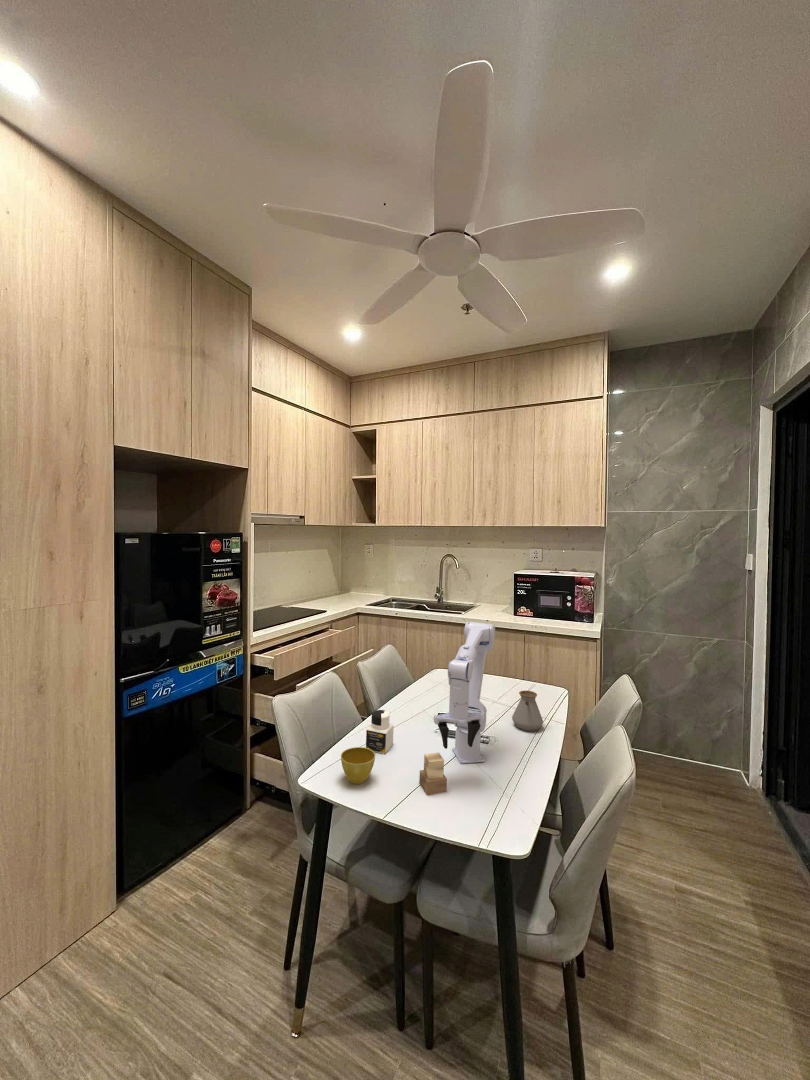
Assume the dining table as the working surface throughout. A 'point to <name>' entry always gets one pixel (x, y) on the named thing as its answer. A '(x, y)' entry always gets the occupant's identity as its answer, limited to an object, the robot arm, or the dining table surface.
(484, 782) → the dining table surface
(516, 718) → the coffee pot
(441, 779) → the walnut plinth
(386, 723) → the medicine bottle
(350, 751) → the flower pot
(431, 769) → the beech cube
